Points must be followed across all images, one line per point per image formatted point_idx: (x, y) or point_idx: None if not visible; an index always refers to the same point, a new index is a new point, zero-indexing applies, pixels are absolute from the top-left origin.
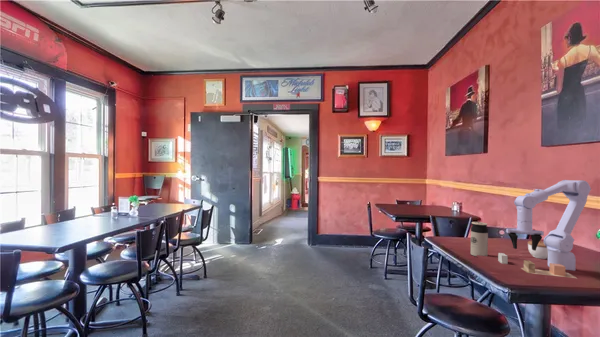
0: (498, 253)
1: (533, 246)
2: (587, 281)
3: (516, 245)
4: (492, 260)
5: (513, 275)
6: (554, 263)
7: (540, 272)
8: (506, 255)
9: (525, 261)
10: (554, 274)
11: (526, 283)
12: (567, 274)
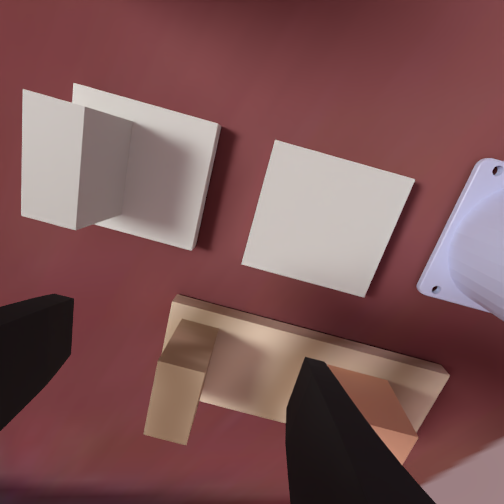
0: (28, 97)
1: (298, 441)
2: (451, 443)
3: (14, 409)
4: (76, 32)
5: (74, 385)
6: (377, 426)
7: (247, 381)
8: (73, 208)
9: (153, 387)
10: None
11: (82, 473)
12: (410, 402)
